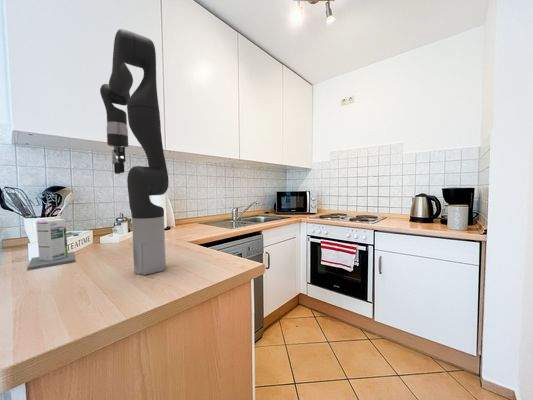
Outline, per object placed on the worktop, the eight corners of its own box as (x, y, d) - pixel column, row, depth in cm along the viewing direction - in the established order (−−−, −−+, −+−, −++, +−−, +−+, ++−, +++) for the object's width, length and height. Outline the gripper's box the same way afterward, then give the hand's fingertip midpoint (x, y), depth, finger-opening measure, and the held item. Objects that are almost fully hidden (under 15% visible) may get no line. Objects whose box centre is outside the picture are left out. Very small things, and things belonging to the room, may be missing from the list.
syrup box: (51, 261, 81) (48, 220, 80) (38, 260, 82) (35, 220, 81) (68, 256, 86) (66, 218, 85) (55, 255, 87) (53, 218, 87)
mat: (75, 262, 82) (75, 259, 82) (27, 270, 74) (27, 267, 74) (74, 254, 93) (74, 251, 93) (32, 260, 85) (32, 257, 85)
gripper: (104, 136, 99) (106, 173, 100) (109, 130, 89) (111, 171, 89) (124, 138, 104) (126, 174, 105) (131, 133, 94) (133, 172, 94)
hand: (119, 173), depth 97 cm, fingers open, 8 cm apart
